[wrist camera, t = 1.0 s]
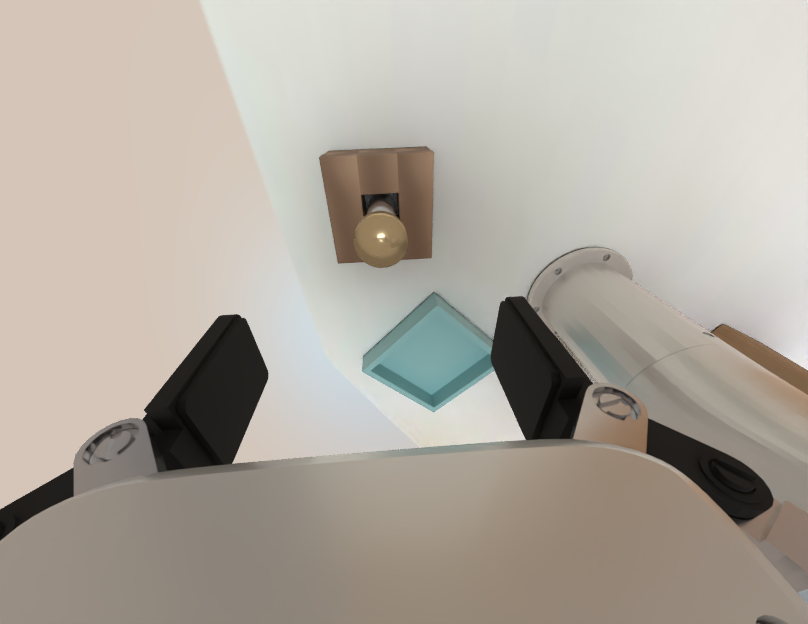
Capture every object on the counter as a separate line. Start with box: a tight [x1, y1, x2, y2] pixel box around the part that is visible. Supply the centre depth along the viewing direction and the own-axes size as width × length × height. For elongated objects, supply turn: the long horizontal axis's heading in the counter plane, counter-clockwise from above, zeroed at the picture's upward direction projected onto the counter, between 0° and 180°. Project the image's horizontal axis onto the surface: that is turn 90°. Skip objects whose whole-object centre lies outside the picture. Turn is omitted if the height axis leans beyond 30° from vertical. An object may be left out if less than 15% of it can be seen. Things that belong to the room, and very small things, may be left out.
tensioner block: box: [319, 147, 434, 263], centre depth 27 cm, size 9×9×5 cm
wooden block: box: [712, 325, 808, 395], centre depth 37 cm, size 10×10×20 cm
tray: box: [362, 292, 494, 412], centre depth 40 cm, size 14×14×3 cm
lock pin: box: [354, 193, 408, 268], centre depth 24 cm, size 4×4×12 cm
